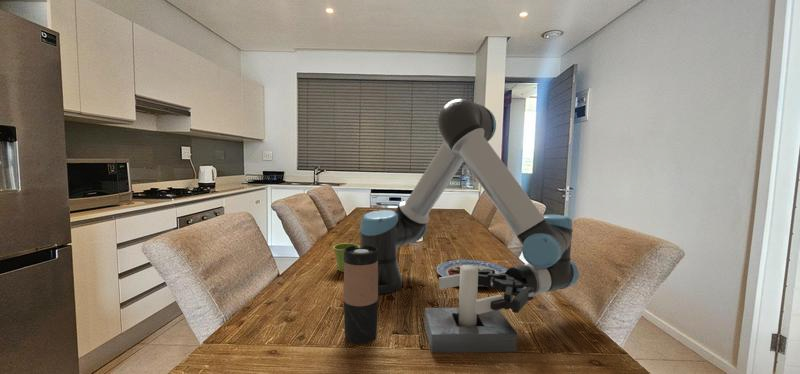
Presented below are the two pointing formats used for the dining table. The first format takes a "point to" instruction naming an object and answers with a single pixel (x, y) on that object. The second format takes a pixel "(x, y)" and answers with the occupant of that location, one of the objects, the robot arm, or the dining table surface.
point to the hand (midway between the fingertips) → (456, 294)
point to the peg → (468, 296)
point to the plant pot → (341, 254)
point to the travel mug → (360, 293)
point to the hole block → (468, 332)
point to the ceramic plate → (454, 265)
